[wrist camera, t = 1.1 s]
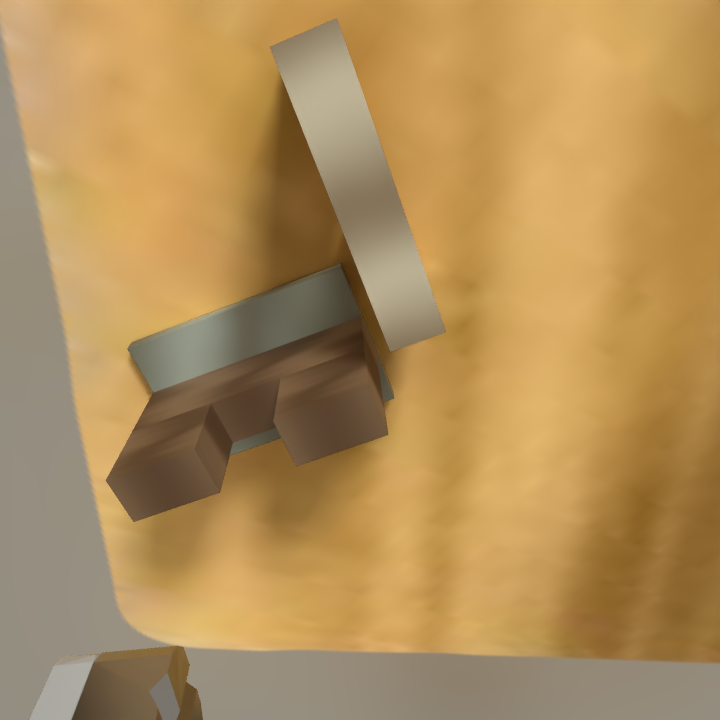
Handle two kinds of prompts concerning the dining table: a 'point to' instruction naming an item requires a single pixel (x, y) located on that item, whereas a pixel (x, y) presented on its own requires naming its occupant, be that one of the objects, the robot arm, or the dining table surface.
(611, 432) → the dining table surface
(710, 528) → the dining table surface
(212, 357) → the walnut slotted plate
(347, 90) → the maple slotted plate
